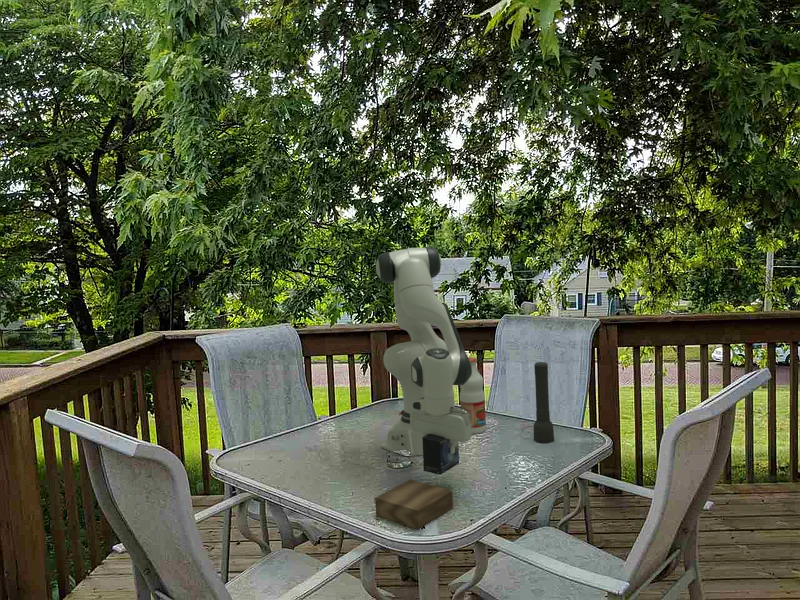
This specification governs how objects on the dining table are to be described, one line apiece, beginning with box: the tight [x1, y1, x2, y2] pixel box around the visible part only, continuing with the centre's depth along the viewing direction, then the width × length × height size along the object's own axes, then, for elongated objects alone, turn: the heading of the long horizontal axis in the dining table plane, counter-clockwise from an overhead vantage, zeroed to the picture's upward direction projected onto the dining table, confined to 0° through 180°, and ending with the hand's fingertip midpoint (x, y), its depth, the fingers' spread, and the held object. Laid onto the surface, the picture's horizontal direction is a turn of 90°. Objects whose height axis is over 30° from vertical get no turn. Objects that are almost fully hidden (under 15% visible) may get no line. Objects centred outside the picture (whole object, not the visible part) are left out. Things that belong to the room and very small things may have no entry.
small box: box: [422, 434, 460, 476], centre depth 182 cm, size 11×6×10 cm, turn 143°
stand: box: [374, 479, 454, 530], centre depth 169 cm, size 15×15×5 cm
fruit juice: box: [459, 357, 487, 435], centre depth 236 cm, size 9×9×28 cm
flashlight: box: [533, 361, 555, 444], centre depth 220 cm, size 7×28×7 cm
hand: (440, 450), depth 182 cm, fingers closed on small box, 6 cm apart
